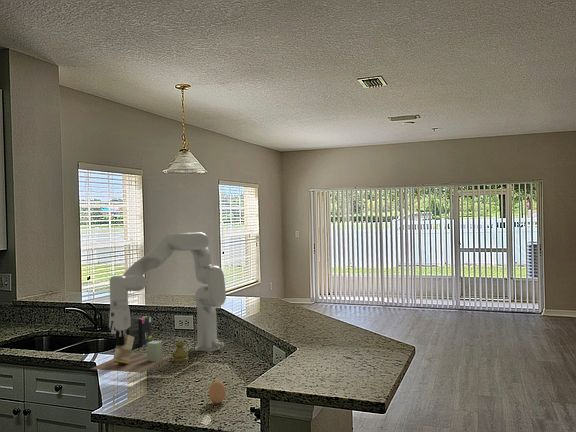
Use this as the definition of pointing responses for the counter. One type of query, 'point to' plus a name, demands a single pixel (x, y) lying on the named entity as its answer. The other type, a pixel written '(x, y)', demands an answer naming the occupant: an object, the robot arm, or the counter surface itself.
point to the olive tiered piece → (180, 353)
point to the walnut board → (132, 364)
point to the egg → (217, 392)
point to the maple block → (124, 351)
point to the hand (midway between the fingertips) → (119, 345)
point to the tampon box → (140, 330)
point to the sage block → (154, 351)
